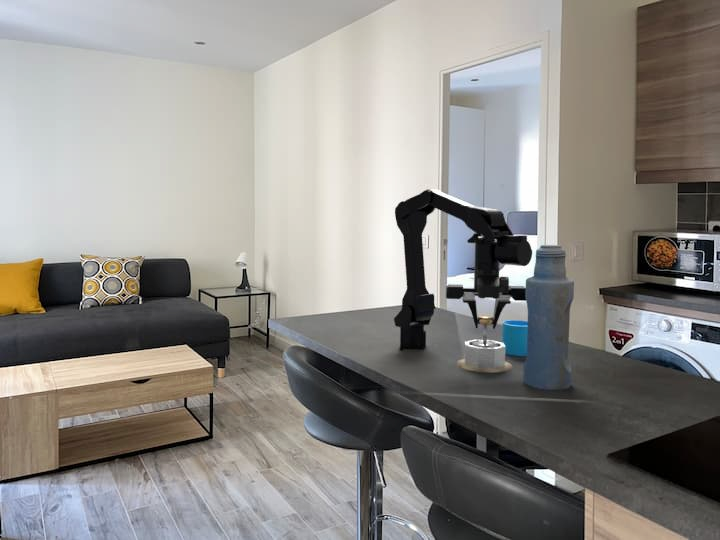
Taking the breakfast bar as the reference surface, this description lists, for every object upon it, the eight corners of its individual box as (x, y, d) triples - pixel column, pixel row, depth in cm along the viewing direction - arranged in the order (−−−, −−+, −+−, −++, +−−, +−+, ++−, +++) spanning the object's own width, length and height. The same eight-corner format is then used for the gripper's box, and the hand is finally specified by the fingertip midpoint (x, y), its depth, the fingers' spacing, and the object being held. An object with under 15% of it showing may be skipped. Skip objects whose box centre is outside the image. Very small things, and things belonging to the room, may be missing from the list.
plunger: (472, 349, 131) (473, 319, 131) (471, 344, 137) (471, 314, 137) (498, 350, 131) (499, 320, 130) (496, 345, 137) (497, 315, 136)
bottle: (565, 395, 113) (571, 247, 110) (516, 387, 119) (521, 245, 116) (575, 383, 121) (581, 244, 118) (529, 376, 127) (533, 243, 124)
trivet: (457, 373, 129) (457, 370, 129) (455, 358, 142) (455, 356, 142) (515, 375, 127) (515, 373, 127) (508, 360, 140) (508, 358, 140)
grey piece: (465, 369, 131) (466, 347, 130) (463, 355, 143) (463, 336, 142) (506, 370, 129) (506, 349, 129) (500, 357, 141) (501, 337, 141)
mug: (539, 357, 144) (541, 325, 143) (510, 358, 142) (511, 326, 142) (517, 346, 156) (518, 317, 155) (489, 347, 154) (490, 318, 153)
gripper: (447, 265, 125) (445, 334, 127) (533, 266, 123) (531, 337, 124) (446, 261, 136) (445, 324, 138) (525, 262, 134) (523, 327, 135)
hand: (485, 328), depth 134 cm, fingers closed on plunger, 4 cm apart
